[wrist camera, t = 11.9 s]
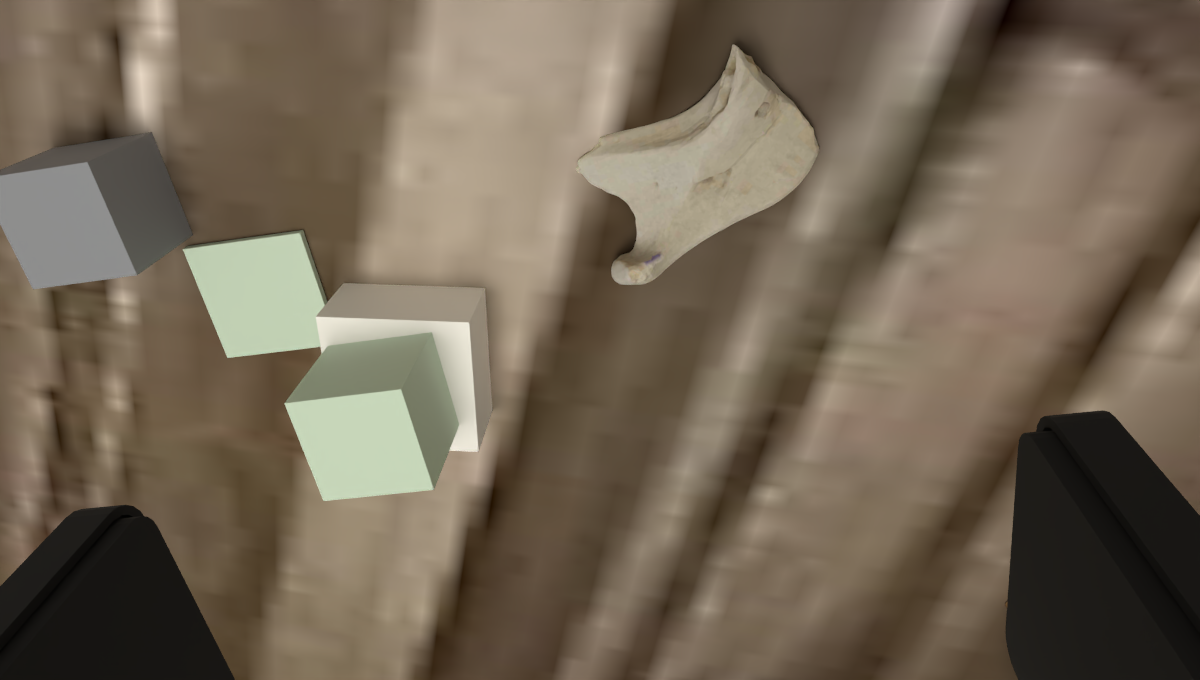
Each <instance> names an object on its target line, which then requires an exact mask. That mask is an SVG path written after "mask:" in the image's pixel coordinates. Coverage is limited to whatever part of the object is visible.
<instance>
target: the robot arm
mask: <svg viewBox="0 0 1200 680" xmlns="http://www.w3.org/2000/svg"><path fill="white" fill-rule="evenodd" d="M1006 641H1007V647H1008V652H1009V656H1010V660H1011V663H1012V665H1013V668H1014V671H1015V673H1016V675H1017V677H1018V680H1200V516H1199V514H1198V513H1197V512H1196V511H1195V510H1194V509H1193V507H1192V506H1191V505H1190V504H1189V503H1188V502H1187V500H1186V499H1185V498H1184V497H1183V496H1182V495H1181V493H1180V492H1179V491H1178V490H1177V489H1176V488H1175V486H1174V485H1173V484H1172V483H1171V482H1170V481H1169V479H1168V478H1167V477H1166V476H1165V475H1164V474H1163V472H1162V471H1161V470H1160V469H1159V468H1158V467H1157V465H1156V464H1155V463H1154V462H1153V461H1152V460H1151V458H1150V457H1149V456H1148V455H1147V454H1146V452H1145V451H1144V450H1143V449H1142V448H1141V447H1140V445H1139V444H1138V443H1137V442H1136V441H1135V440H1134V438H1133V437H1132V436H1131V435H1130V434H1129V433H1128V431H1127V430H1126V429H1125V428H1124V427H1123V426H1122V424H1121V423H1120V422H1119V421H1118V420H1117V419H1116V417H1114V416H1113V415H1112V414H1111V413H1110V412H1107V411H1093V412H1083V413H1072V414H1062V415H1052V416H1044V417H1043V418H1041V419H1040V421H1039V423H1038V425H1037V430H1036V432H1030V433H1024V434H1022V435H1021V437H1020V439H1019V445H1018V458H1017V472H1016V487H1015V501H1014V516H1013V530H1012V545H1011V559H1010V574H1009V589H1008V603H1007V618H1006ZM0 680H235V679H234V677H233V675H232V673H231V671H230V669H229V667H228V665H227V663H226V661H225V659H224V657H223V655H222V653H221V651H220V649H219V647H218V645H217V643H216V641H215V639H214V637H213V635H212V633H211V632H210V630H209V628H208V626H207V624H206V622H205V620H204V618H203V616H202V614H201V612H200V610H199V608H198V606H197V604H196V602H195V600H194V598H193V596H192V594H191V592H190V590H189V588H188V586H187V584H186V582H185V580H184V578H183V576H182V574H181V572H180V570H179V568H178V566H177V564H176V562H175V560H174V558H173V557H172V555H171V553H170V551H169V549H168V547H167V545H166V543H165V541H164V539H163V537H162V535H161V533H160V531H159V529H158V527H157V525H156V524H155V523H154V521H153V520H151V519H150V518H149V517H144V516H143V514H142V513H141V511H139V510H138V509H136V508H135V507H134V506H129V505H120V506H109V507H99V508H88V509H81V510H78V511H74V512H73V513H72V514H70V515H69V516H68V517H66V518H65V519H64V520H63V521H62V522H61V524H60V525H59V526H58V527H57V528H56V529H55V530H54V531H53V532H52V533H51V534H50V535H49V536H48V537H47V538H46V539H45V540H44V541H43V542H42V543H41V544H40V545H39V547H38V548H37V549H36V550H35V551H34V552H33V553H32V554H31V555H30V556H29V557H28V558H27V559H26V560H25V561H24V562H23V563H22V564H21V565H20V566H19V567H18V568H17V570H16V571H15V572H14V573H13V574H12V575H11V576H10V577H9V578H8V579H7V580H6V581H5V582H4V583H3V584H2V585H1V586H0Z"/></svg>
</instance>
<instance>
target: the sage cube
mask: <svg viewBox="0 0 1200 680" xmlns="http://www.w3.org/2000/svg"><path fill="white" fill-rule="evenodd" d="M284 404H285V406H286V409H287V411H288V414H289V416H290V419H291V421H292V424H293V426H294V429H295V431H296V433H297V436H298V438H299V441H300V443H301V446H302V448H303V451H304V453H305V456H306V458H307V461H308V463H309V466H310V468H311V471H312V473H313V476H314V478H315V481H316V483H317V486H318V488H319V491H320V493H321V496H322V498H323V501H329V500H339V499H348V498H358V497H368V496H378V495H387V494H397V493H407V492H417V491H426V490H434V488H435V486H436V483H437V480H438V478H439V475H440V473H441V470H442V468H443V465H444V463H445V460H446V458H447V455H448V453H449V450H450V447H451V445H452V442H453V440H454V437H455V435H456V432H457V430H458V427H459V422H458V419H457V415H456V412H455V409H454V405H453V402H452V398H451V395H450V392H449V388H448V385H447V382H446V378H445V375H444V372H443V368H442V365H441V362H440V358H439V355H438V351H437V348H436V345H435V341H434V338H433V335H432V332H430V333H422V334H415V335H407V336H399V337H392V338H384V339H376V340H369V341H361V342H353V343H346V344H338V345H330V346H327V348H326V349H325V350H324V352H323V353H322V354H321V355H320V357H319V358H318V359H317V361H316V362H315V363H314V365H313V366H312V367H311V369H310V370H309V371H308V373H307V374H306V375H305V377H304V378H303V379H302V381H301V382H300V383H299V385H298V386H297V387H296V389H295V390H294V391H293V393H292V394H291V395H290V397H289V398H288V399H287V401H286V402H285V403H284Z"/></svg>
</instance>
